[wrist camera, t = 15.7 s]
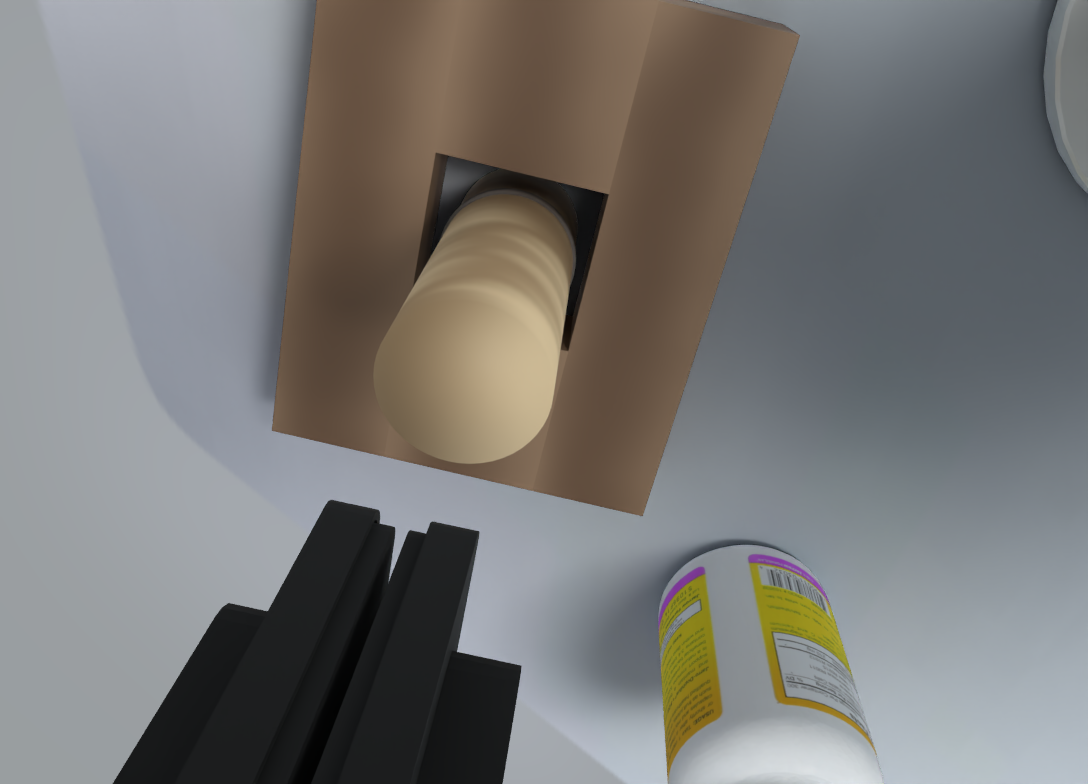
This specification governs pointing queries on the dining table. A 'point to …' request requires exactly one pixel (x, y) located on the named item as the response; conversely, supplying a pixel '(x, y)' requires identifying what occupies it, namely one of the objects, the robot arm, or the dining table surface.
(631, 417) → the board
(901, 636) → the dining table surface
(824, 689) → the supplement bottle
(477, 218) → the peg
